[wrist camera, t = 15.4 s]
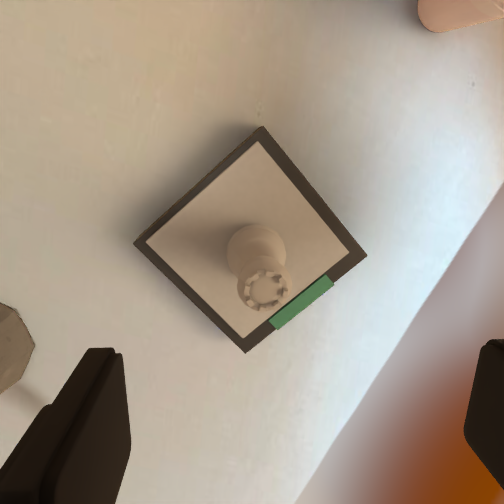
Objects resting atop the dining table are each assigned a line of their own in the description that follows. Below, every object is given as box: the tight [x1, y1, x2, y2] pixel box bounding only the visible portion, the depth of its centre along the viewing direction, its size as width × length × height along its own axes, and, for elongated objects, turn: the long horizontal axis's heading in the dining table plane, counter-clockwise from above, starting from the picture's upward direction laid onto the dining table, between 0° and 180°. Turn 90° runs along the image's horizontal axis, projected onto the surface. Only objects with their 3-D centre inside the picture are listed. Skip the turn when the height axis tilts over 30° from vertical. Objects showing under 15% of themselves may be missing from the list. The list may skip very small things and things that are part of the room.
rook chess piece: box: [226, 224, 292, 313], centre depth 25 cm, size 4×4×8 cm
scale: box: [133, 126, 367, 353], centre depth 30 cm, size 13×13×3 cm
